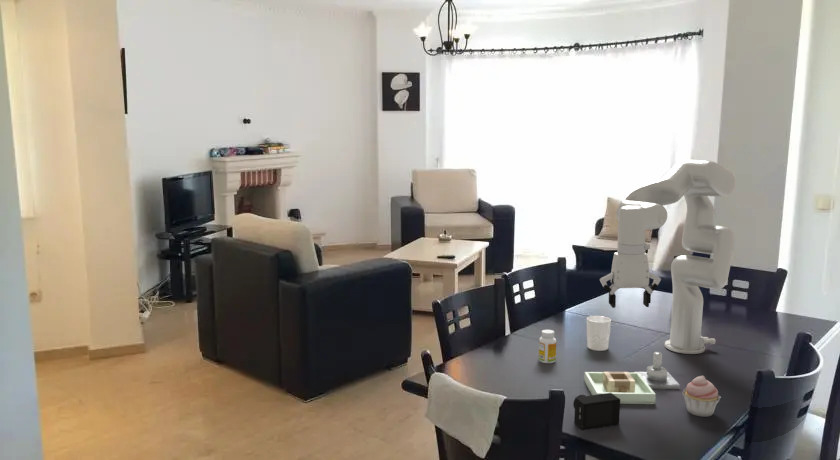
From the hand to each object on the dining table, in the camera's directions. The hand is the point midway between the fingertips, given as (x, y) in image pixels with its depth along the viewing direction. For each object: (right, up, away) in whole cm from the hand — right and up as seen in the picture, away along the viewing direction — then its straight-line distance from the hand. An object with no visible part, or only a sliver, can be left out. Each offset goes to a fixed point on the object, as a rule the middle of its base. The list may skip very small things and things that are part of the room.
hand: (629, 306), depth 193 cm
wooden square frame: (-5, -23, -7) cm, 24 cm away
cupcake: (+12, -26, -20) cm, 35 cm away
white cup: (-1, -18, +30) cm, 35 cm away
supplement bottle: (-21, -20, +18) cm, 34 cm away
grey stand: (+8, -22, 0) cm, 24 cm away
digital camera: (-17, -27, -26) cm, 41 cm away
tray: (-5, -23, -7) cm, 25 cm away
